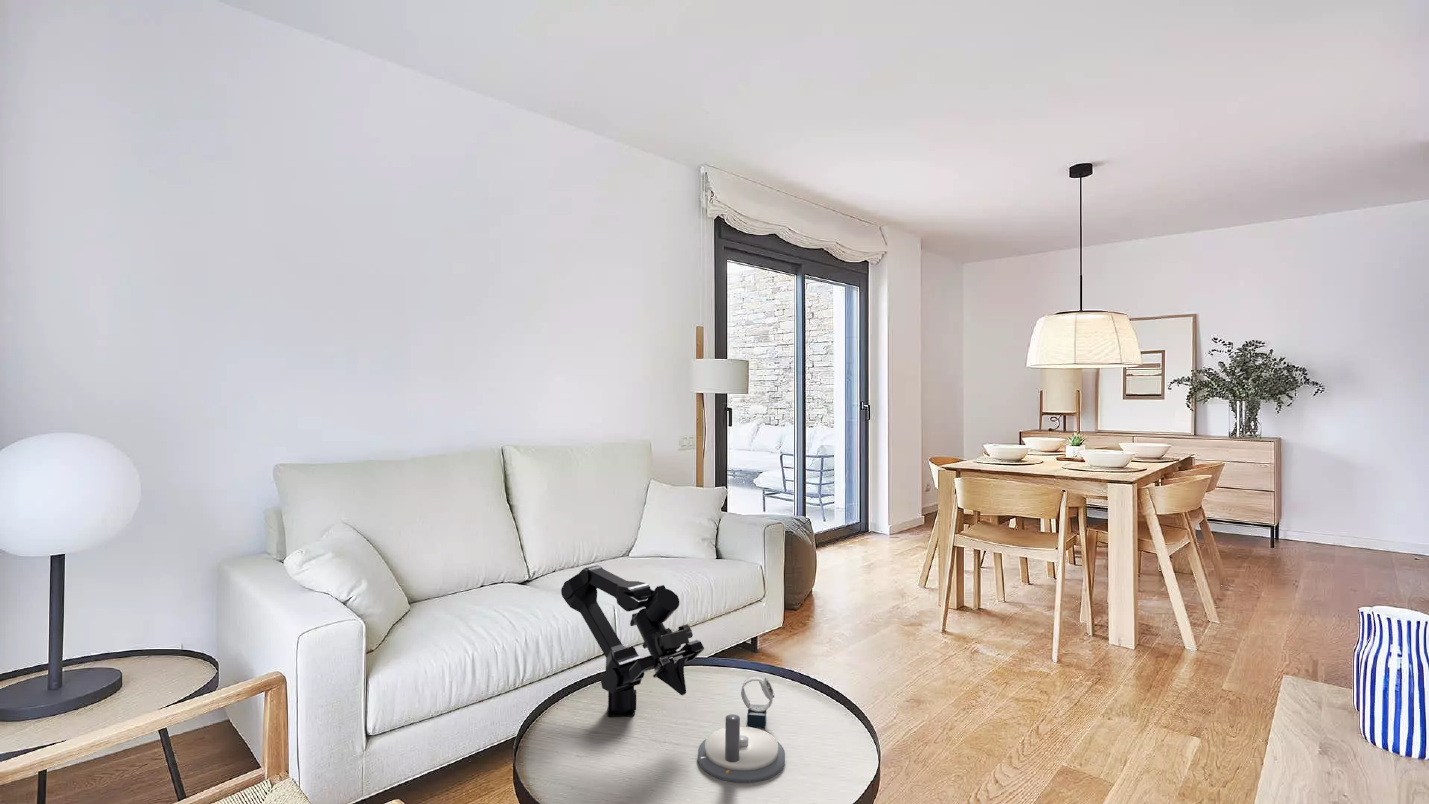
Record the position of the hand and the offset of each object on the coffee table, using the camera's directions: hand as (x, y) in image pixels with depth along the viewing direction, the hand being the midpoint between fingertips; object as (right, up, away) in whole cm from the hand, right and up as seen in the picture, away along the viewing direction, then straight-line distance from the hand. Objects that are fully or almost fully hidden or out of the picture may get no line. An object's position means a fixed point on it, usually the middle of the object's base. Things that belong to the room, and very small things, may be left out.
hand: (684, 694), depth 165 cm
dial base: (+13, -12, -4) cm, 18 cm away
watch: (+17, -12, +12) cm, 24 cm away
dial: (+13, -11, -4) cm, 17 cm away
